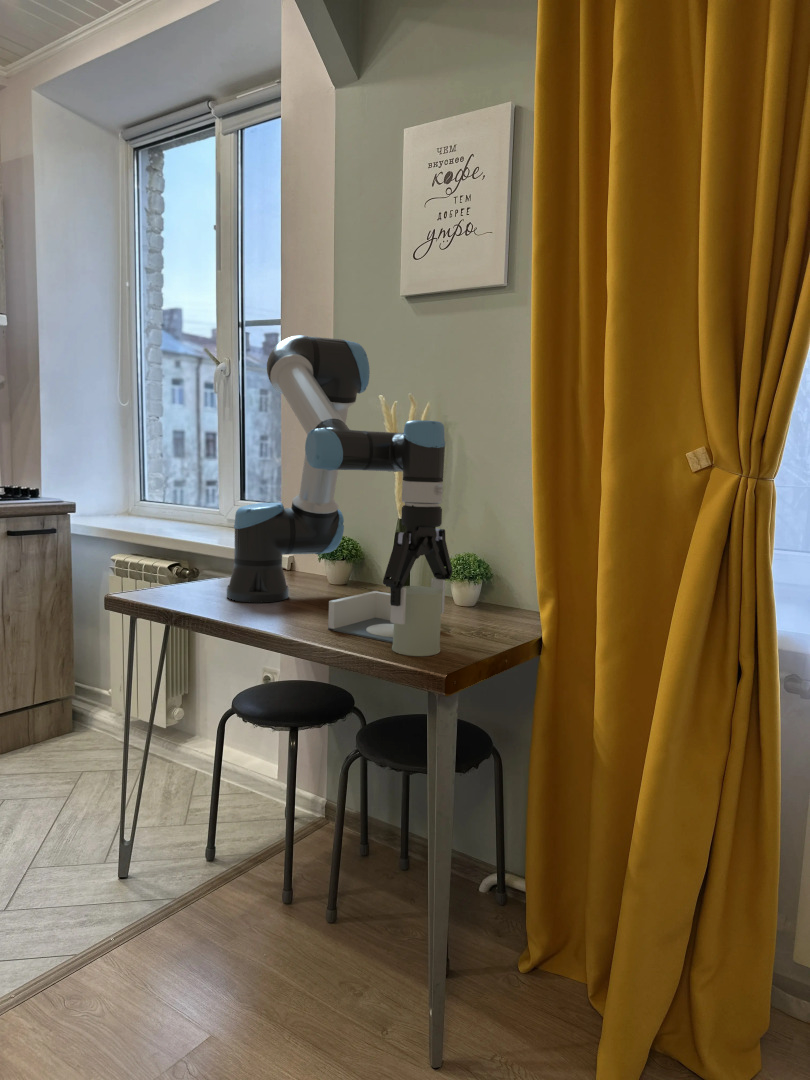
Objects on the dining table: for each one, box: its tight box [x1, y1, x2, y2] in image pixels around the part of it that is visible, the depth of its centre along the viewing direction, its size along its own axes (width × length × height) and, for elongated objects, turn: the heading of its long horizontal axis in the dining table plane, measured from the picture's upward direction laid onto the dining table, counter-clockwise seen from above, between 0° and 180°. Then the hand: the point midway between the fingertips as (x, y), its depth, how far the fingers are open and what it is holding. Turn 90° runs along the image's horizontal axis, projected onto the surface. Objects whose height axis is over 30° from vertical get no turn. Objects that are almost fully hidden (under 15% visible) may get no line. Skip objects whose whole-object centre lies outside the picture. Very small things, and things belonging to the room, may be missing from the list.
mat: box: [327, 618, 394, 644], centre depth 156 cm, size 17×16×1 cm
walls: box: [327, 590, 391, 631], centre depth 155 cm, size 17×16×6 cm
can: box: [391, 585, 443, 657], centre depth 140 cm, size 9×9×12 cm
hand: (418, 617), depth 139 cm, fingers open, 13 cm apart
